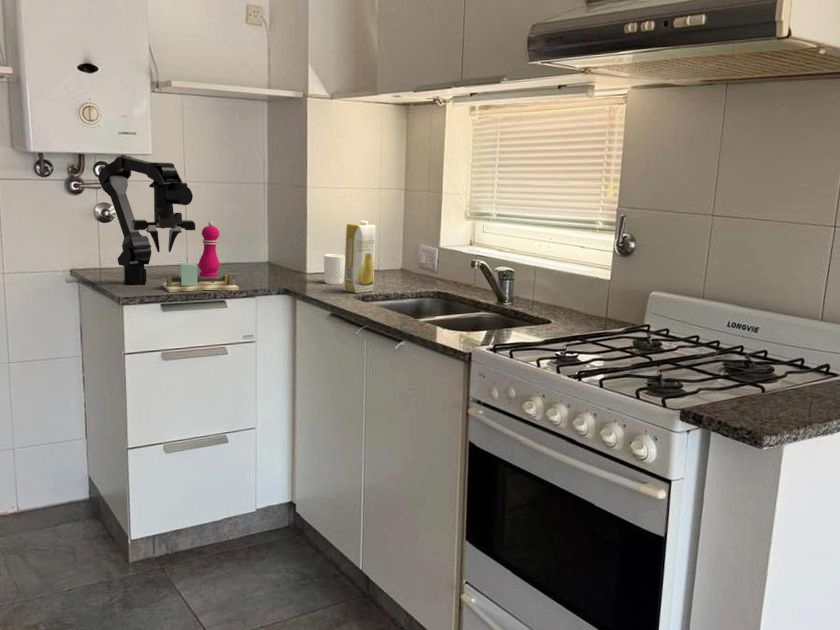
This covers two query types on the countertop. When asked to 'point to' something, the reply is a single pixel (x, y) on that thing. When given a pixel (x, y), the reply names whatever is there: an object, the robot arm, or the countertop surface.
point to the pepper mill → (209, 252)
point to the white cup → (334, 268)
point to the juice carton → (359, 257)
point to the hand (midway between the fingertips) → (164, 252)
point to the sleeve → (188, 274)
